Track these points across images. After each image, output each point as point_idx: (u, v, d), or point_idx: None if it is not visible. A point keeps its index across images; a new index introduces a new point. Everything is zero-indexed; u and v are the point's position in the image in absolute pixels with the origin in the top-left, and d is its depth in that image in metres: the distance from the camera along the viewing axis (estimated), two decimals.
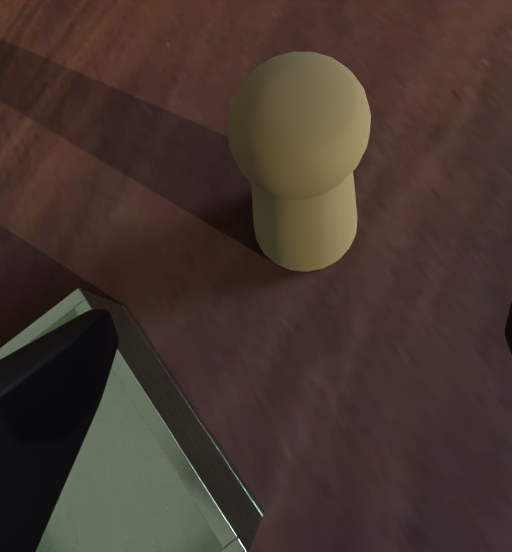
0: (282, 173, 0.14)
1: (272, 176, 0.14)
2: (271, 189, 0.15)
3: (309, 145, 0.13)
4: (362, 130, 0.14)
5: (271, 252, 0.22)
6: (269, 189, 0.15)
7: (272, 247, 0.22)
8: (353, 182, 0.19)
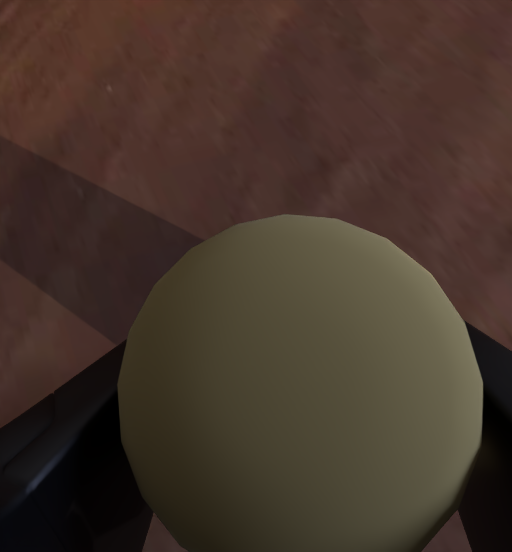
0: None
1: None
2: None
3: (326, 550, 0.04)
4: (471, 463, 0.05)
5: None
6: None
7: None
8: None
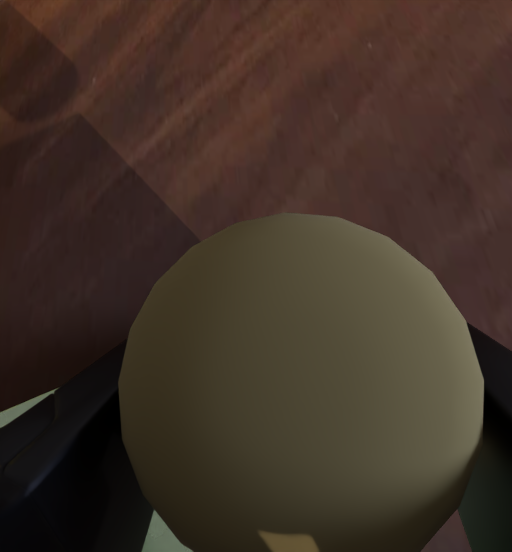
0: None
1: None
2: None
3: (325, 546, 0.04)
4: (472, 460, 0.05)
5: None
6: None
7: None
8: None
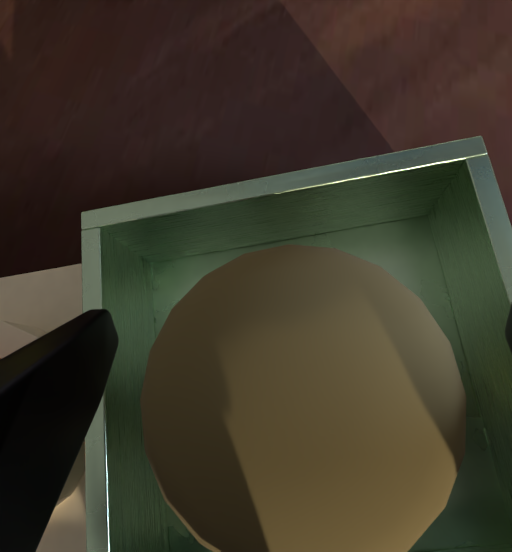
0: None
1: None
2: None
3: (328, 543, 0.05)
4: (456, 467, 0.06)
5: None
6: None
7: None
8: None
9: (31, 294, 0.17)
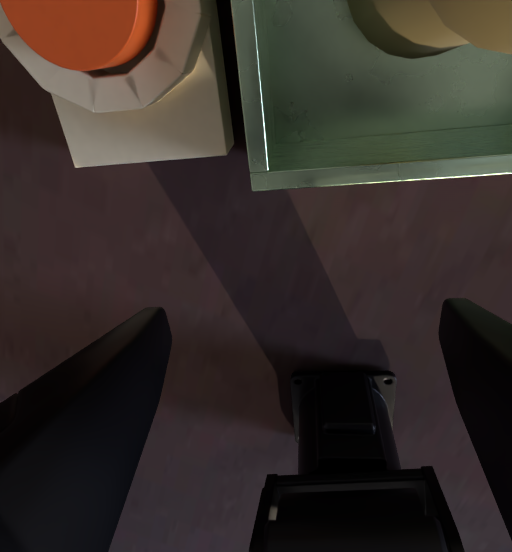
0: None
1: (496, 38, 0.07)
2: (472, 42, 0.08)
3: None
4: None
5: (372, 33, 0.15)
6: (467, 39, 0.08)
7: (379, 32, 0.14)
8: None
9: None
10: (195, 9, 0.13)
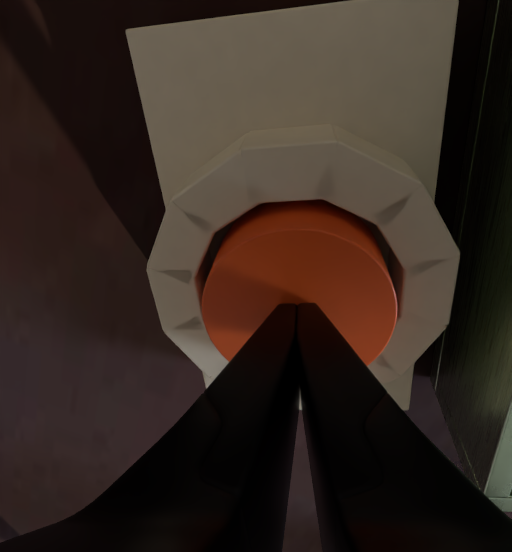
0: None
1: None
2: None
3: None
4: None
5: None
6: None
7: None
8: None
9: (325, 57, 0.09)
10: (442, 321, 0.10)
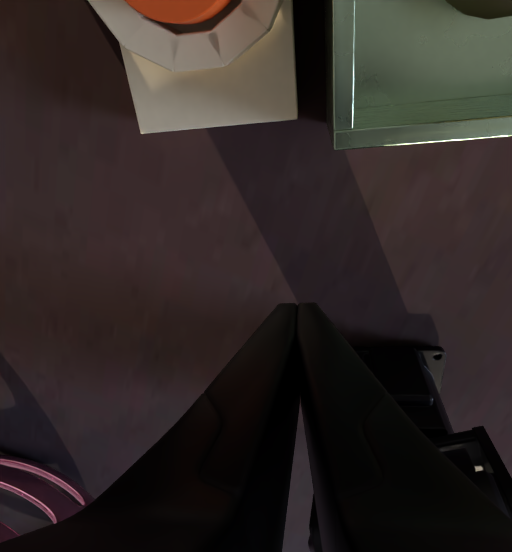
0: None
1: None
2: None
3: None
4: None
5: None
6: None
7: None
8: None
9: None
10: None
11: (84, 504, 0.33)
